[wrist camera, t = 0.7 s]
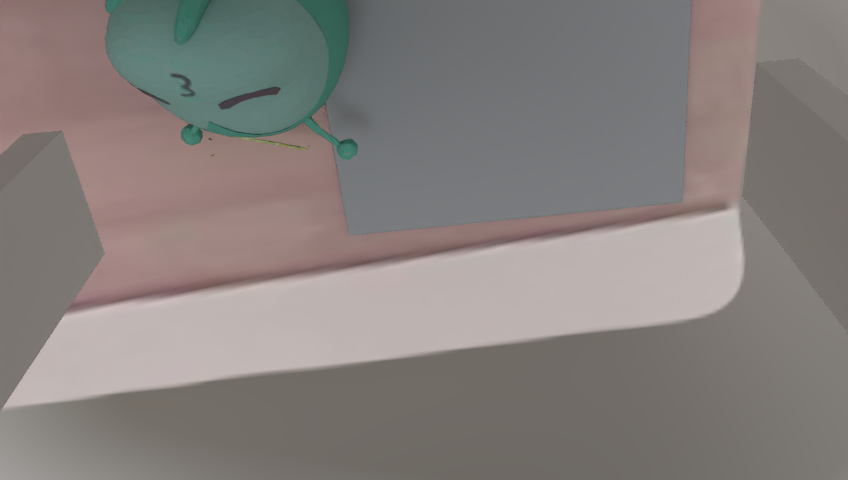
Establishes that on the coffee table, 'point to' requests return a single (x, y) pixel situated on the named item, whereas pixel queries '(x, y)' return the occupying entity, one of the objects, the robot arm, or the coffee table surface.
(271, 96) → the toy
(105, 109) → the coffee table surface
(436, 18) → the mat
